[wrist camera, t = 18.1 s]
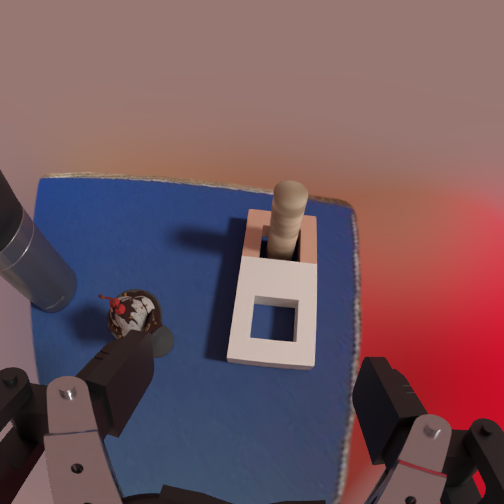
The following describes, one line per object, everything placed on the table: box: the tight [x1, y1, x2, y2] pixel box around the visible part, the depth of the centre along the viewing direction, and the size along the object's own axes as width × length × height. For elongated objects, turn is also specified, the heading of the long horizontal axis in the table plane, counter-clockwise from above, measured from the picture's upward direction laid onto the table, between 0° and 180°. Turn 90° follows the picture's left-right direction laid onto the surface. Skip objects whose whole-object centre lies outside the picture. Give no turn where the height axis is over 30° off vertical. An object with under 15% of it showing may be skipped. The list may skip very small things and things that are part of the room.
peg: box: [266, 180, 308, 261], centre depth 41 cm, size 4×4×14 cm
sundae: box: [98, 289, 174, 357], centre depth 32 cm, size 7×7×15 cm
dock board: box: [227, 209, 317, 370], centre depth 42 cm, size 24×11×3 cm, turn 174°
